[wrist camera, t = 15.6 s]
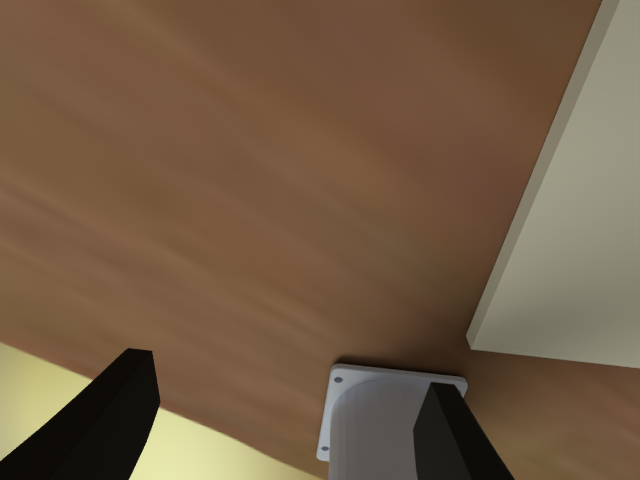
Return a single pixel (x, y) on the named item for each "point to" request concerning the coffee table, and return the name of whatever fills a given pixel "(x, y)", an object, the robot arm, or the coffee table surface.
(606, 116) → the subfloor board
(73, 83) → the coffee table surface
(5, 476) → the robot arm
